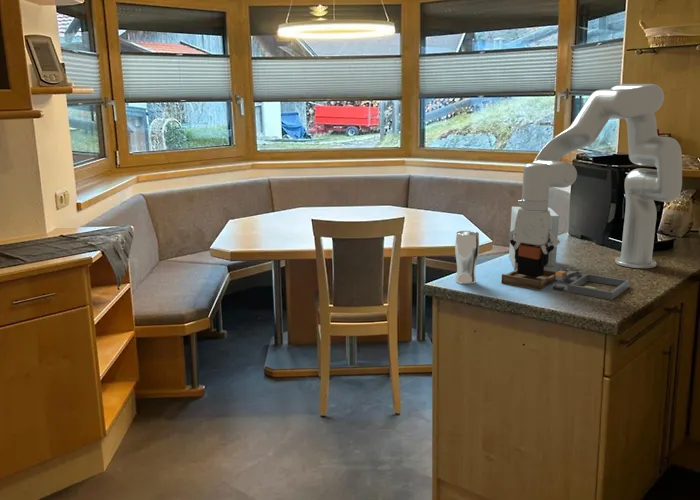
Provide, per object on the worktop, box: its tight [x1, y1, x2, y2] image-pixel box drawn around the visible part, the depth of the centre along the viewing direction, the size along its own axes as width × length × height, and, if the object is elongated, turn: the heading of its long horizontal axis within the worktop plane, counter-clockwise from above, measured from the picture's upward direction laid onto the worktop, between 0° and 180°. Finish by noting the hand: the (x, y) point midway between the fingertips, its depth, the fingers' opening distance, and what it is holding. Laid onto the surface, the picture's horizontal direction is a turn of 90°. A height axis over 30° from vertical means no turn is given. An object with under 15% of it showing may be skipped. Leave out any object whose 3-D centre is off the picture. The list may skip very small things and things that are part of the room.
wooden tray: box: [500, 269, 558, 291], centre depth 202 cm, size 13×12×3 cm
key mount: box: [552, 267, 583, 292], centre depth 199 cm, size 14×5×3 cm, turn 142°
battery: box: [517, 243, 544, 278], centre depth 201 cm, size 4×7×10 cm, turn 42°
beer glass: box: [454, 230, 480, 285], centre depth 200 cm, size 7×7×15 cm
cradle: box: [567, 273, 630, 301], centre depth 194 cm, size 16×12×2 cm
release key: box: [555, 270, 578, 281], centre depth 198 cm, size 12×2×2 cm, turn 142°
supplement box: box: [508, 206, 560, 272], centre depth 220 cm, size 17×13×18 cm
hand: (531, 263), depth 201 cm, fingers closed on battery, 7 cm apart
